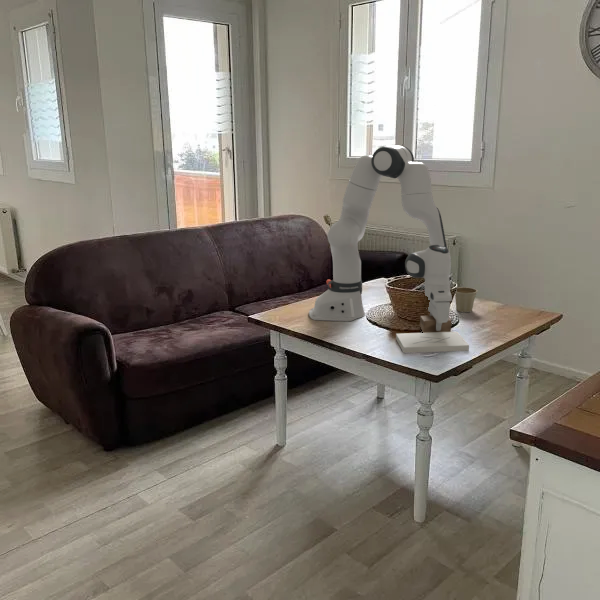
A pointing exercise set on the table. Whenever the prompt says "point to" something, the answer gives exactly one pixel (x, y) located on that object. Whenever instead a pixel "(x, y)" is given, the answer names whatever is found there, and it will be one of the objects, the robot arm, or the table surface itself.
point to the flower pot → (465, 299)
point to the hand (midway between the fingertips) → (435, 326)
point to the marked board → (431, 342)
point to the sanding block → (433, 325)
